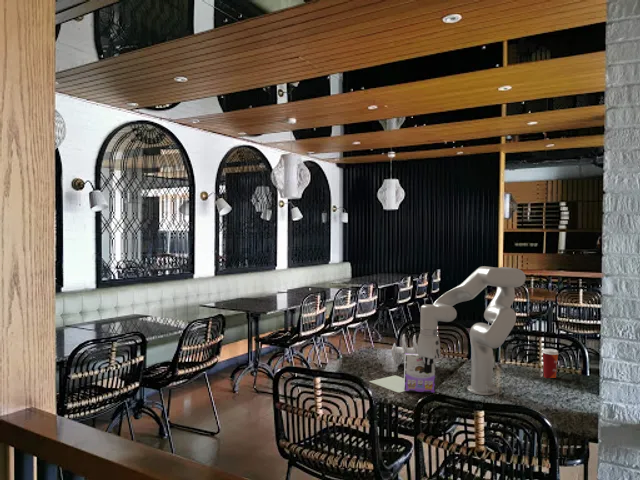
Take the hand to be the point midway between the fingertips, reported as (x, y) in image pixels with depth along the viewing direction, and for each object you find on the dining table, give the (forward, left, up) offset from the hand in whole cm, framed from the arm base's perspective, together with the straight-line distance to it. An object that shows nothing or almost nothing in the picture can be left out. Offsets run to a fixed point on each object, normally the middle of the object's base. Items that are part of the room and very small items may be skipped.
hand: (427, 372), depth 221 cm
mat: (+19, 0, -10) cm, 22 cm away
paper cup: (-18, -73, -10) cm, 76 cm away
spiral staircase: (+34, -30, -11) cm, 47 cm away
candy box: (+5, 0, -10) cm, 11 cm away
